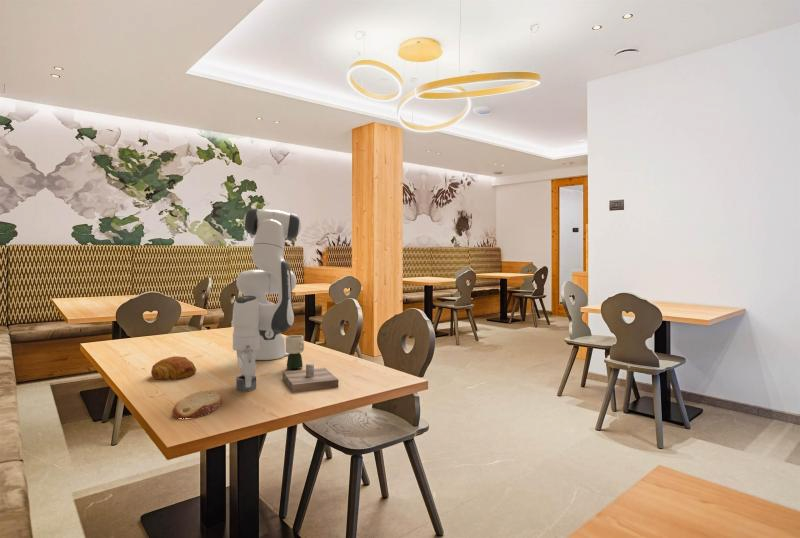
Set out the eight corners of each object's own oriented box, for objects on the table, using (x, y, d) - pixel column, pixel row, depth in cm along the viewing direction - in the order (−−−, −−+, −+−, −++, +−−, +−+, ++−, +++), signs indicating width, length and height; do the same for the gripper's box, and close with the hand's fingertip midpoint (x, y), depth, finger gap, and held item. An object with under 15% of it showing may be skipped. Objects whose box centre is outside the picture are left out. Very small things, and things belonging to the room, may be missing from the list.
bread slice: (210, 395, 157) (210, 384, 157) (240, 407, 146) (239, 395, 145) (154, 408, 144) (154, 396, 143) (181, 423, 132) (181, 410, 132)
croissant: (145, 383, 177) (141, 363, 176) (181, 368, 190) (178, 349, 189) (170, 387, 170) (166, 366, 169) (206, 372, 184) (202, 352, 182)
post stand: (283, 378, 176) (282, 361, 176) (324, 374, 183) (324, 357, 183) (292, 391, 160) (292, 372, 160) (338, 386, 167) (338, 368, 166)
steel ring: (235, 387, 165) (235, 375, 165) (254, 385, 168) (254, 373, 167) (237, 392, 159) (237, 380, 159) (256, 390, 162) (256, 378, 162)
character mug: (310, 369, 191) (310, 336, 190) (296, 372, 185) (296, 339, 184) (293, 364, 197) (293, 333, 197) (279, 368, 192) (279, 336, 191)
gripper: (260, 348, 155) (260, 390, 155) (252, 337, 173) (252, 375, 174) (239, 350, 152) (240, 392, 152) (233, 339, 171) (234, 377, 171)
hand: (246, 383), depth 163 cm, fingers open, 8 cm apart
